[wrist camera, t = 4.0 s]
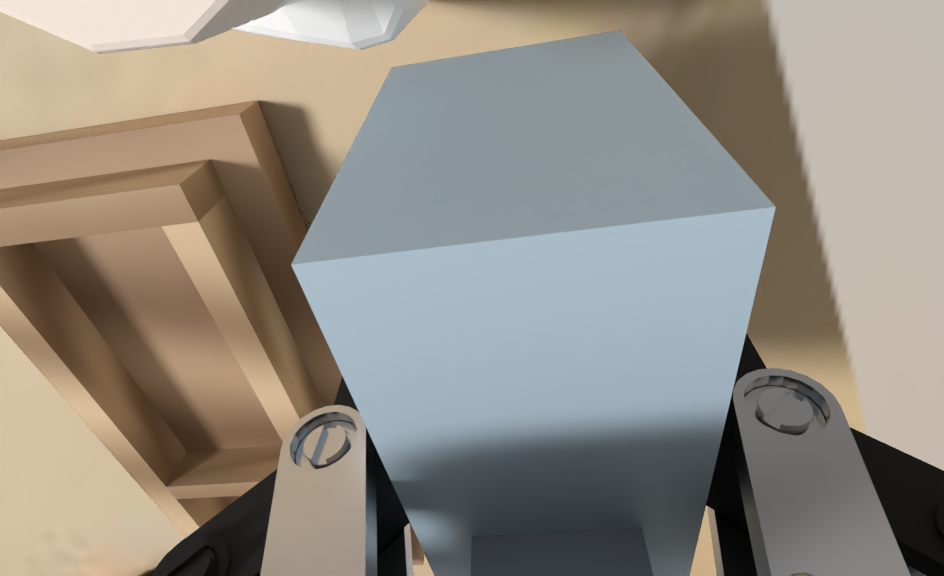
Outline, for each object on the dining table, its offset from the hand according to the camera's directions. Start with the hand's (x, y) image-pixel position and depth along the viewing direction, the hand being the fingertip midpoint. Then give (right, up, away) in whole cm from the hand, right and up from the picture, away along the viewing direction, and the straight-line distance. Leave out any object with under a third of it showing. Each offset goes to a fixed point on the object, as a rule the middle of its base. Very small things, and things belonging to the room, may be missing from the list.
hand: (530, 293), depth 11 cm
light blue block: (0, +1, +1) cm, 1 cm away
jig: (-10, -4, +9) cm, 15 cm away
